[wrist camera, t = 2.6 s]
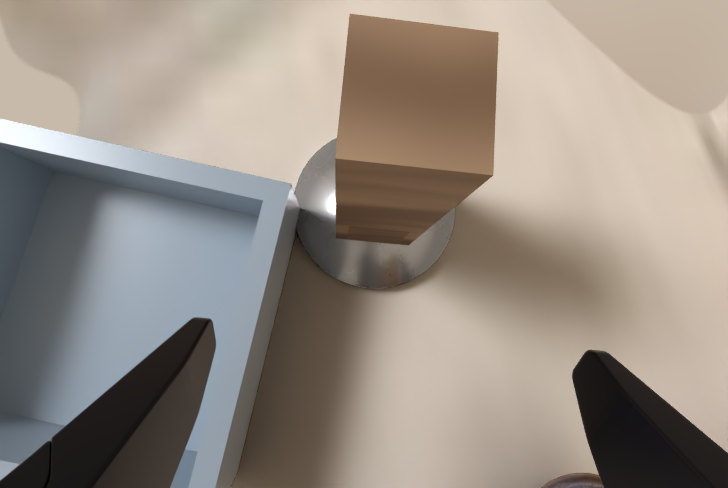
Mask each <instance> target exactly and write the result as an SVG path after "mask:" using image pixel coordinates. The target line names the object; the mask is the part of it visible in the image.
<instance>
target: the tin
mask: <svg viewBox="0 0 728 488" xmlns="http://www.w3.org/2000/svg"><path fill="white" fill-rule="evenodd" d="M541 488H604V487H603V484H602V482H601V479H600V476H599V475H595V474H589V473H574V474H568V475H564V476H561V477H558V478H556V479H554V480H552V481H550V482H548V483H547V484H545V485H544V486H543V487H541Z"/></svg>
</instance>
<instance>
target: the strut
mask: <svg viewBox="0 0 728 488" xmlns="http://www.w3.org/2000/svg"><path fill="white" fill-rule="evenodd" d="M497 56H498V32H490V31H482V30H474V29H466V28H458V27H450V26H442V25H434V24H426V23H419V22H411V21H403V20H395V19H387V18H379V17H371V16H363V15H355V14H350V17H349V27H348V37H347V47H346V57H345V67H344V76H343V86H342V96H341V106H340V116H339V125H338V135H337V145H336V155H335V199H336V239H347V240H357V241H368V242H378V243H389V244H399V245H410V244H411V243H412V242H413V241H415V240H416V239H417V238H418V237H419V236H421V235H422V234H423V233H424V232H425V231H427V230H428V229H429V228H430V227H431V226H433V225H434V224H435V223H436V222H437V221H439V220H440V219H441V218H442V217H443V216H445V215H446V214H447V213H448V212H449V211H451V210H452V209H453V208H454V207H456V206H457V205H458V204H459V203H460V202H462V201H463V200H464V199H465V198H466V197H468V196H469V195H470V194H471V193H472V192H474V191H475V190H476V189H477V188H478V187H480V186H481V185H482V184H483V183H484V182H486V181H487V180H488V179H489V178H490V177H492V176H493V166H494V139H495V111H496V84H497Z"/></svg>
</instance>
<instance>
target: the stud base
mask: <svg viewBox="0 0 728 488" xmlns="http://www.w3.org/2000/svg"><path fill="white" fill-rule="evenodd" d="M336 145H337V138H336V139H334V140H332V141H330V142H329V143H327V144H326V145H324V146H323V147H322V148H321V149H320V150H318V151H317V152H316V153H315V154H314V155H313V157H312V158H311V159H310V160H309V161H308V163H307V164H306V166H305V167H304V169H303V171H302V173H301V175H300V177H299V179H298V183H297V186H296V189H295V195H296V198H297V200H298V203H299V206H300V211H299V215H298V219H297V223H296V229H297V232H298V235H299V237H300V240H301V242H302V244H303V246H304V247H305V249H306V251H307V252H308V254H309V255H310V257H311V258H312V259H313V260H314V261H315V262H316V264H317V265H318V266H319V267H320V268H322V269H323V270H324V271H325V272H327V273H328V274H329V275H331V276H333V277H334V278H336V279H338V280H340V281H342V282H345V283H347V284H350V285H353V286H357V287H363V288H387V287H392V286H396V285H400V284H403V283H405V282H408V281H410V280H412V279H414V278H416V277H418V276H419V275H421V274H422V273H424V272H425V271H426V270H428V269H429V268H430V267H431V266H432V265H433V264H434V263H435V262H436V261H437V259H438V258H439V257H440V256H441V254H442V253H443V251H444V249H445V248H446V246H447V244H448V242H449V239H450V237H451V234H452V230H453V226H454V220H455V207H454V208H453V209H452V210H451V211H449V212H448V213H447V214H446V215H445V216H443V217H442V218H441V219H440V220H439V221H437V222H436V223H435V224H434V225H433V226H431V227H430V228H429V229H428V230H427V231H425V232H424V233H423V234H422V235H421V236H419V237H418V238H417V239H416V240H415V241H413V242H412V243H411V244H410V245H399V244H389V243H378V242H368V241H357V240H347V239H336V199H335V155H336Z"/></svg>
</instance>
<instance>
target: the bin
mask: <svg viewBox="0 0 728 488" xmlns="http://www.w3.org/2000/svg"><path fill="white" fill-rule="evenodd" d="M299 211H300V206H299V203H298V200H297V198H296V195H295V192H294V190H293V187H292V184H290V183H286V182H281V181H277V180H272V179H268V178H263V177H259V176H254V175H250V174H245V173H241V172H236V171H232V170H227V169H223V168H218V167H214V166H209V165H205V164H201V163H196V162H192V161H187V160H183V159H178V158H174V157H169V156H165V155H160V154H156V153H151V152H147V151H142V150H138V149H133V148H129V147H124V146H120V145H115V144H111V143H106V142H102V141H97V140H93V139H89V138H84V137H80V136H75V135H70V134H66V133H62V132H57V131H52V130H48V129H43V128H39V127H34V126H30V125H26V124H21V123H16V122H12V121H8V120H3V119H0V480H1V479H2V478H4V477H5V476H6V475H7V474H9V473H10V472H11V471H12V470H13V469H15V468H16V467H17V466H18V465H19V464H21V463H22V462H23V461H24V460H26V459H27V458H28V457H29V456H30V455H32V454H33V453H34V452H35V451H36V450H37V449H39V448H40V447H41V446H42V445H43V444H44V443H46V442H47V441H51V439H52V437H53V436H54V435H55V434H56V433H58V432H59V431H60V430H61V429H62V428H63V427H65V426H66V425H67V424H68V423H69V422H71V421H72V420H73V419H74V418H75V417H76V416H78V415H79V414H80V413H81V412H82V411H83V410H85V409H86V408H87V407H88V406H89V405H90V404H92V403H93V402H94V401H95V400H96V399H98V398H99V397H100V396H101V395H102V394H103V393H105V392H106V391H107V390H108V389H109V388H110V387H112V386H113V385H114V384H115V383H116V382H117V381H119V380H120V379H121V378H122V377H123V376H125V375H126V374H127V373H128V372H129V371H130V370H132V369H133V368H134V367H135V366H136V365H137V364H139V363H140V362H141V361H142V360H143V359H144V358H146V357H147V356H148V355H149V354H150V353H152V352H153V351H154V350H155V349H156V348H157V347H159V346H160V345H161V344H162V343H163V342H164V341H166V340H167V339H168V338H169V337H170V336H171V335H173V334H174V333H175V332H176V331H177V330H179V329H180V328H181V327H182V326H183V325H184V324H186V323H187V322H188V321H189V320H190V319H192V318H194V317H201V318H210V319H211V320H212V321H213V326H214V332H215V338H216V350H215V354H214V358H213V362H212V365H211V369H210V373H209V377H208V381H207V384H206V388H205V392H204V396H203V400H202V403H201V407H200V410H199V414H198V417H197V419H196V422H195V425H194V427H193V430H192V433H191V435H190V438H189V440H188V443H187V445H186V448H185V451H184V453H183V456H182V458H181V461H180V464H179V466H178V469H177V471H176V474H175V476H174V479H173V482H172V484H171V487H170V488H229V487H230V486H231V484H232V482H233V481H234V479H235V477H236V475H237V472H238V468H239V464H240V460H241V456H242V452H243V448H244V444H245V440H246V435H247V431H248V427H249V423H250V419H251V415H252V411H253V407H254V403H255V398H256V394H257V390H258V386H259V382H260V378H261V374H262V370H263V366H264V361H265V357H266V353H267V349H268V345H269V341H270V337H271V333H272V329H273V324H274V320H275V316H276V312H277V308H278V304H279V300H280V296H281V292H282V287H283V283H284V279H285V275H286V271H287V267H288V263H289V259H290V255H291V250H292V246H293V242H294V238H295V234H296V230H297V229H296V223H297V219H298V215H299Z"/></svg>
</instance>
